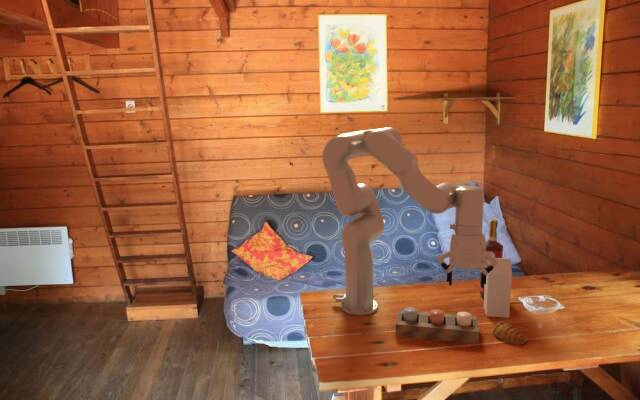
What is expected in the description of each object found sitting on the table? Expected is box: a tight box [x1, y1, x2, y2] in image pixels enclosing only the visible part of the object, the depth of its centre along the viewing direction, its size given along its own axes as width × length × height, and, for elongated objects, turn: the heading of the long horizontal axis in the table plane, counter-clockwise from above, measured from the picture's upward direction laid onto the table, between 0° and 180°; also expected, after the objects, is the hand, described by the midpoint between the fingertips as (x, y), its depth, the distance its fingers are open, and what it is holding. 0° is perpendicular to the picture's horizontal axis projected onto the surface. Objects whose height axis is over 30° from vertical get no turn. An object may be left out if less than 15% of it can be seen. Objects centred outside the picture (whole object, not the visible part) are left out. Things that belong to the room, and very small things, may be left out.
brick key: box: [429, 308, 445, 325], centre depth 147 cm, size 4×4×4 cm
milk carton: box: [483, 257, 513, 319], centre depth 157 cm, size 7×7×19 cm
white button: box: [456, 311, 473, 327], centre depth 145 cm, size 4×4×4 cm
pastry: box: [492, 320, 527, 345], centre depth 143 cm, size 9×7×4 cm
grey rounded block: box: [403, 306, 418, 322], centre depth 149 cm, size 4×4×4 cm
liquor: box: [479, 219, 504, 297], centre depth 168 cm, size 7×7×28 cm
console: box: [395, 309, 480, 345], centre depth 147 cm, size 24×10×4 cm, turn 76°
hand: (465, 284), depth 142 cm, fingers open, 8 cm apart
